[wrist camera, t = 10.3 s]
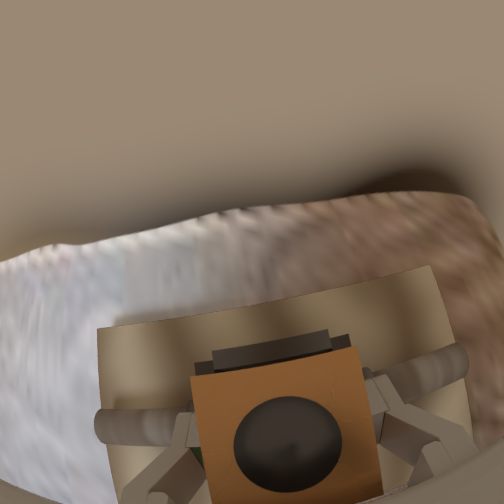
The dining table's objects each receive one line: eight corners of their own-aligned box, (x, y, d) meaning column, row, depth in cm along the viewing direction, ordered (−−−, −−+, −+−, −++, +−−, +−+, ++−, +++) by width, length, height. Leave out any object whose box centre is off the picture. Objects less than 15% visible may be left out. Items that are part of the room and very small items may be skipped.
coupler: (254, 462, 12) (215, 529, 5) (240, 383, 14) (186, 371, 7) (335, 446, 12) (386, 499, 4) (320, 368, 14) (357, 339, 6)
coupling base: (134, 507, 14) (98, 526, 10) (111, 334, 21) (72, 317, 16) (460, 447, 14) (498, 453, 9) (419, 275, 20) (447, 244, 16)
